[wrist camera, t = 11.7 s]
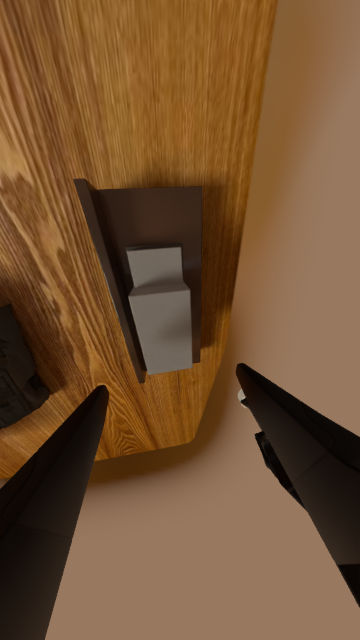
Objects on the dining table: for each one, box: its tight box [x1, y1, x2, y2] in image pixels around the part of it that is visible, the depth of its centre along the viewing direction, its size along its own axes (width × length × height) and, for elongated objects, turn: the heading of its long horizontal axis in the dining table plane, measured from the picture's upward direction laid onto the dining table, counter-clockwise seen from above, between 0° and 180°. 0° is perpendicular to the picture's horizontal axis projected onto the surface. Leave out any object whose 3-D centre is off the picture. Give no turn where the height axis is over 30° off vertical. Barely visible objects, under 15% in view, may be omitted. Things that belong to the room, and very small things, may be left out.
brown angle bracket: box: [73, 179, 202, 384], centre depth 16 cm, size 20×9×4 cm, turn 4°
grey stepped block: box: [125, 243, 193, 375], centre depth 13 cm, size 12×5×5 cm, turn 4°
